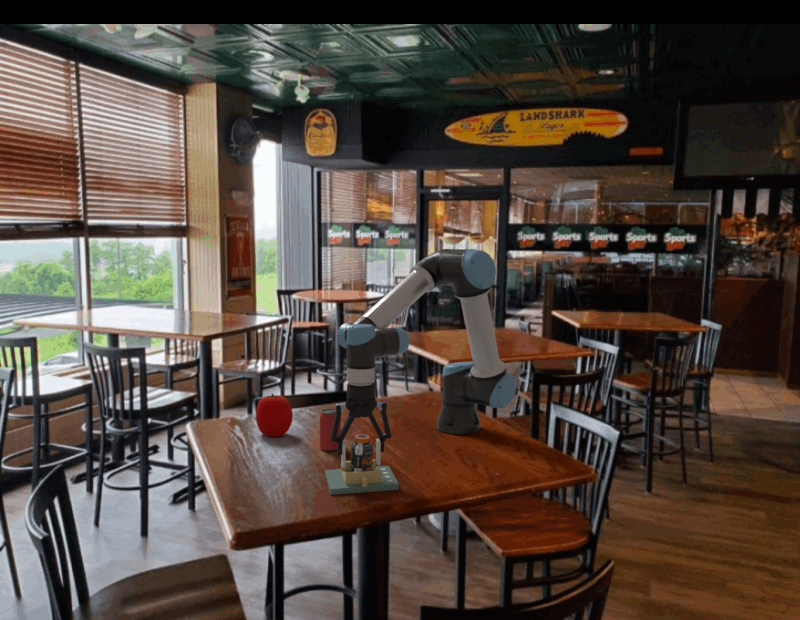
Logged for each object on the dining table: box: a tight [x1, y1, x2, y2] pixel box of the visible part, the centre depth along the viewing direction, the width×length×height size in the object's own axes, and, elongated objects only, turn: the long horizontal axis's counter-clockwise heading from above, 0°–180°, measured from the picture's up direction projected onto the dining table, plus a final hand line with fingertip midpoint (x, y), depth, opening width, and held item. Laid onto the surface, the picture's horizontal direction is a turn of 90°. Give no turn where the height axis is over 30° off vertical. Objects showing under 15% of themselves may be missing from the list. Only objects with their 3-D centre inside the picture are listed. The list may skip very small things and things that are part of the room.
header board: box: [324, 458, 400, 496], centre depth 175 cm, size 18×14×4 cm
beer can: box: [319, 408, 342, 452], centre depth 202 cm, size 7×7×12 cm
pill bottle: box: [350, 433, 374, 472], centre depth 174 cm, size 6×6×11 cm
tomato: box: [255, 393, 294, 438], centre depth 215 cm, size 13×11×14 cm
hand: (360, 464), depth 174 cm, fingers open, 9 cm apart
